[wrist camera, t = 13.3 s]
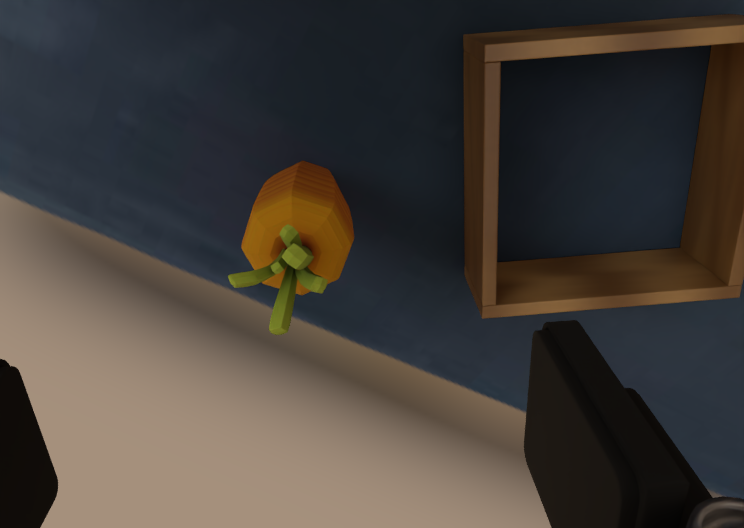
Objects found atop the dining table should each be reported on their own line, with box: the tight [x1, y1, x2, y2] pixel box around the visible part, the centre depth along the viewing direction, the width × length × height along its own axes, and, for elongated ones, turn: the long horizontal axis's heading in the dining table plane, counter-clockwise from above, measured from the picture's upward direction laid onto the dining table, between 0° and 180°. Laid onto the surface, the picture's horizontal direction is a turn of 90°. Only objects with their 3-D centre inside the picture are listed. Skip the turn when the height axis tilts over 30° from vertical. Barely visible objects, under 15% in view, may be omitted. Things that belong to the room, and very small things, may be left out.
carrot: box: [228, 161, 354, 335], centre depth 30 cm, size 5×5×15 cm
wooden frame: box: [463, 14, 744, 318], centre depth 34 cm, size 15×15×6 cm
